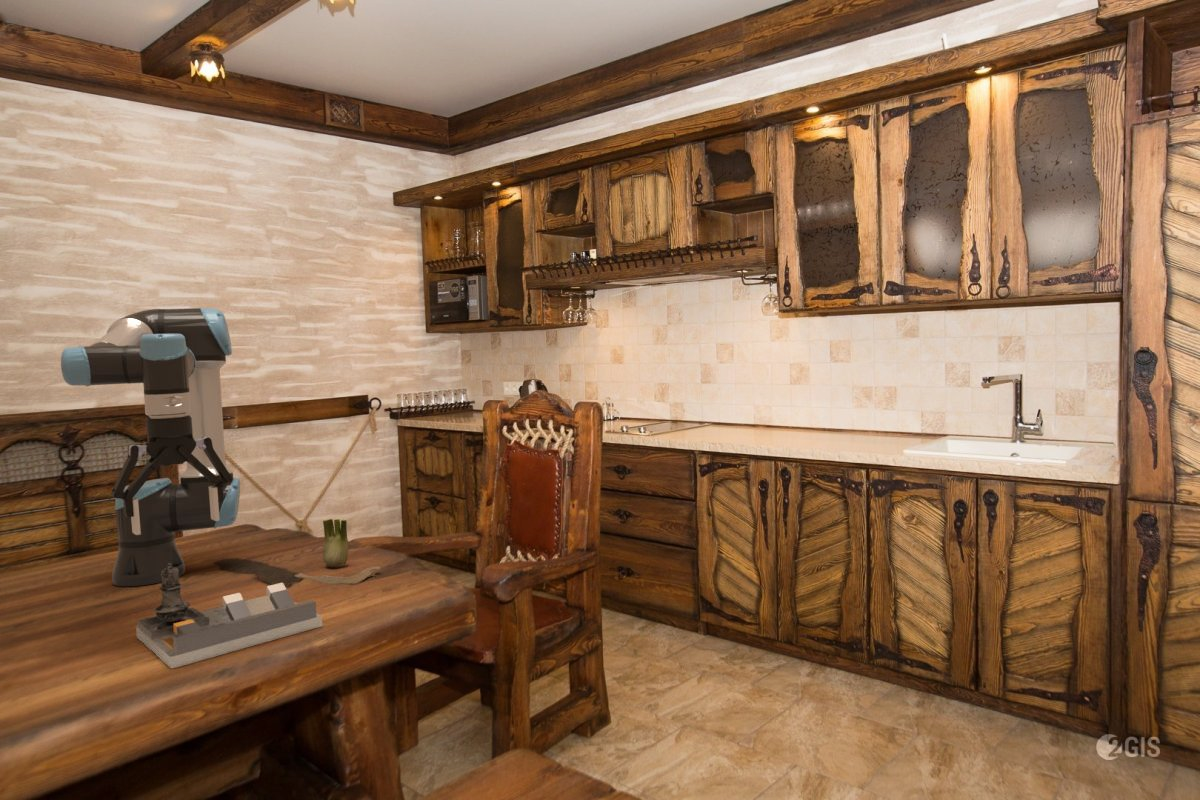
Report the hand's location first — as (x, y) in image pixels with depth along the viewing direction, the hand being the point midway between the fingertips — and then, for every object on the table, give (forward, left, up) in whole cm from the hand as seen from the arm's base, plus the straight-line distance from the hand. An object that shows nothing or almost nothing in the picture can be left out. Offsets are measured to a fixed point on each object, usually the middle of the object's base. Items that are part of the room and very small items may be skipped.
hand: (177, 526), depth 145 cm
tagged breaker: (+13, -3, -17) cm, 22 cm away
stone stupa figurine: (+3, -3, -18) cm, 19 cm away
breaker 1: (+14, +5, -16) cm, 21 cm away
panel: (+9, +5, -20) cm, 22 cm away
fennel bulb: (-19, +39, -20) cm, 48 cm away
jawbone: (-11, +36, -21) cm, 43 cm away
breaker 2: (+14, +13, -16) cm, 25 cm away
